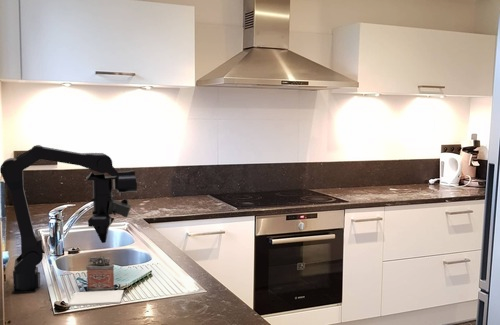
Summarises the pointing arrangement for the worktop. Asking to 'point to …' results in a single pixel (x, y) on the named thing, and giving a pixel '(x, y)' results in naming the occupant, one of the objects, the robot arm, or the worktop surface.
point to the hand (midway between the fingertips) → (103, 242)
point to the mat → (96, 298)
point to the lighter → (100, 274)
